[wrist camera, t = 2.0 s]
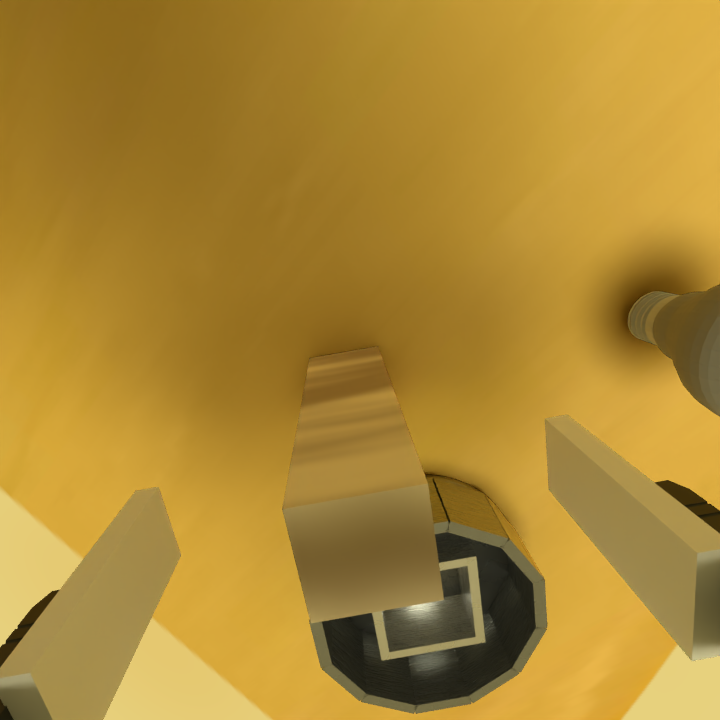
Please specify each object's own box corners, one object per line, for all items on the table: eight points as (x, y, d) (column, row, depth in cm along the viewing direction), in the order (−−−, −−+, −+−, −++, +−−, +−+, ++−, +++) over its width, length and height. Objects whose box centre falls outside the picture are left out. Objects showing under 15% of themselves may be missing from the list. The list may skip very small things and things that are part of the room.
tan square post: (309, 358, 23) (282, 509, 11) (378, 346, 23) (428, 483, 11) (322, 420, 24) (311, 623, 12) (388, 409, 25) (443, 599, 12)
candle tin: (298, 494, 26) (291, 548, 21) (506, 458, 26) (540, 504, 21) (335, 653, 29) (336, 728, 25) (518, 621, 29) (550, 689, 25)
